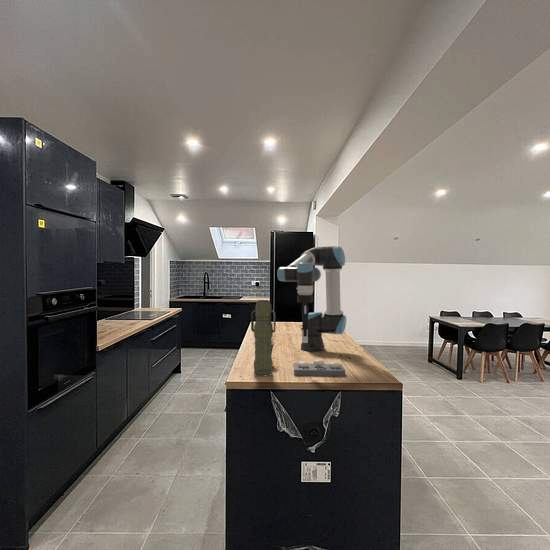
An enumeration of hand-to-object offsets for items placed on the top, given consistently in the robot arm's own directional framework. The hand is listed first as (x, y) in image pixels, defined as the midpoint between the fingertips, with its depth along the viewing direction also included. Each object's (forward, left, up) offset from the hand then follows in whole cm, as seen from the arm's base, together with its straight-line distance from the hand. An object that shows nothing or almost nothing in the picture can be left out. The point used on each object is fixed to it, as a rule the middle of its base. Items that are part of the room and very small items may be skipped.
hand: (304, 342), depth 175 cm
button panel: (-5, +5, -14) cm, 16 cm away
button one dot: (-10, +10, -14) cm, 20 cm away
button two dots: (+1, 0, -14) cm, 14 cm away
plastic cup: (+5, -24, -15) cm, 29 cm away
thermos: (+17, -11, -15) cm, 25 cm away
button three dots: (-5, +5, -13) cm, 14 cm away
